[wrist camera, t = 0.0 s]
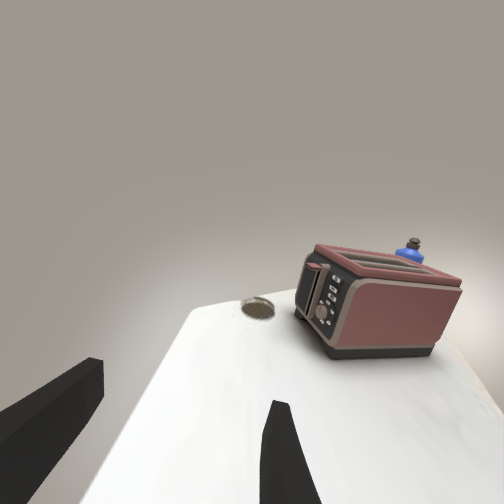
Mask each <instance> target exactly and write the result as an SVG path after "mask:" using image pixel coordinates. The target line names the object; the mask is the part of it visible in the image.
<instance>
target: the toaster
mask: <svg viewBox="0 0 504 504" xmlns="http://www.w3.org/2000/svg"><path fill="white" fill-rule="evenodd" d="M461 282H462V280H461V279H459V278H457V277H454V276H451V275H449V274H446V273H443V272H441V271H438V270H435V269H433V268H430V267H428V266H425V265H422V264H420V263H417V262H415V261H412V260H409V259H407V258H404V257H401V256H398V255H391V254H383V253H377V252H370V251H363V250H356V249H350V248H343V247H336V246H329V245H322V244H316V246H315V248H314V252H312V253H310V254H308V255H307V257H306V259H305V262H304V265H303V269H302V273H301V276H300V280H299V284H298V287H297V291H296V294H295V305H296V310H295V314H296V316H297V317H298V318H299V319H306V320H307V321H308V322H309V323H310V324H311V326H312V327H313V328H314V329H315V330H316V331H317V333H318V334H319V335H320V336H321V337H322V338H323V345H324V348H325V352H326V353H327V354H328V355H329V357H330V358H331V359H355V358H381V357H408V356H429V355H430V354H431V352H432V350H433V348H434V345H435V342H437V341H438V340H439V339H440V337H441V335H442V333H443V331H444V329H445V327H446V325H447V323H448V321H449V319H450V316H451V314H452V312H453V310H454V308H455V306H456V304H457V302H458V300H459V298H460V295H461V293H462V289H460V288H459V287H460V285H461Z"/></svg>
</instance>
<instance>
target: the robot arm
mask: <svg viewBox="0 0 504 504" xmlns="http://www.w3.org/2000/svg"><path fill="white" fill-rule="evenodd" d="M103 397H104V372H103V360H99V359H94V358H90V357H89V358H87V359H86V360H84V361H82V362H81V363H79V364H78V365H76V366H74V367H73V368H71V369H70V370H68V371H66V372H65V373H63V374H62V375H60V376H59V377H57V378H55V379H54V380H52V381H51V382H49V383H47V384H46V385H44V386H43V387H41V388H39V389H38V390H36V391H35V392H33V393H31V394H30V395H28V396H26V397H25V398H23V399H22V400H20V401H18V402H17V403H15V404H13V405H11V406H9V407H8V408H6V409H4V410H3V411H1V412H0V504H27V503H28V501H29V500H30V499H31V497H32V496H33V494H34V493H35V492H36V490H37V489H38V488H39V486H40V485H41V484H42V482H43V481H44V480H45V478H46V477H47V476H48V474H49V473H50V472H51V471H52V469H53V468H54V467H55V465H56V464H57V463H58V461H59V460H60V459H61V458H62V456H63V455H64V454H65V452H66V451H67V450H68V448H69V447H70V446H71V444H72V443H73V442H74V440H75V439H76V438H77V436H78V435H79V434H80V432H81V431H82V430H83V428H84V427H85V426H86V424H87V423H88V421H89V420H90V418H91V417H92V415H93V413H94V412H95V410H96V409H97V407H98V405H99V404H100V402H101V400H102V399H103ZM260 504H322V503H321V501H320V498H319V496H318V493H317V490H316V488H315V485H314V482H313V480H312V477H311V474H310V471H309V469H308V466H307V463H306V460H305V457H304V454H303V451H302V448H301V445H300V442H299V439H298V435H297V432H296V429H295V425H294V422H293V418H292V414H291V410H290V406H289V404H288V403H284V402H280V401H276V400H273V401H272V405H271V408H270V411H269V414H268V417H267V421H266V424H265V427H264V430H263V433H262V444H261V456H260Z"/></svg>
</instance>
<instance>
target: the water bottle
mask: <svg viewBox="0 0 504 504" xmlns="http://www.w3.org/2000/svg"><path fill="white" fill-rule="evenodd" d="M409 241H410V243H409V242H407V245H406V246H407V247H406V248H404V249H397V250H396V252H395V255H398V256H401V257H404V258H407V259H409V260H412V261H415V262H417V263H420V264H422V262H423V259H424V256H422V255H421V254H420V253H419V252H418V250H417V249H419V247H420V245H417V244H419V243H420V240H419V239H417V238H411V239H409Z"/></svg>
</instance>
